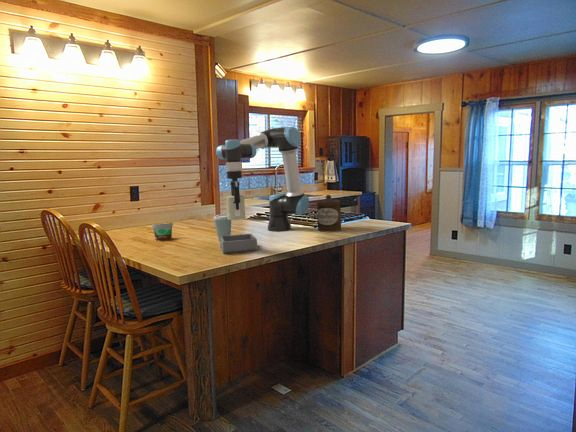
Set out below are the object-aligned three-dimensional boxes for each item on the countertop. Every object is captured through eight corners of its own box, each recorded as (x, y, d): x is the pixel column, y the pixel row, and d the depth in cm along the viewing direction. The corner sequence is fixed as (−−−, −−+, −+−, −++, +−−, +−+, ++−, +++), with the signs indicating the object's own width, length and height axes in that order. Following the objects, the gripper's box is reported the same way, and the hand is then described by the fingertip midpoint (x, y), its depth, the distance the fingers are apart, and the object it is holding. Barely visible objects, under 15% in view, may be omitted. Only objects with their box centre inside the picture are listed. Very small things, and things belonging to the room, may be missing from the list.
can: (228, 220, 206) (226, 196, 204) (227, 217, 215) (225, 195, 213) (246, 219, 208) (245, 195, 206) (244, 216, 217) (243, 194, 215)
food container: (153, 241, 242) (152, 225, 240) (152, 240, 247) (151, 223, 246) (175, 239, 246) (174, 223, 245) (174, 237, 252) (172, 221, 250)
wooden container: (315, 231, 255) (314, 196, 252) (320, 227, 269) (319, 193, 266) (339, 231, 251) (338, 196, 248) (343, 227, 265) (342, 193, 262)
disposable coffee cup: (229, 242, 231) (228, 216, 229) (211, 242, 233) (210, 216, 231) (235, 238, 241) (234, 213, 239) (218, 238, 244) (216, 213, 242)
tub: (252, 244, 224) (251, 233, 223) (257, 250, 207) (256, 239, 207) (220, 247, 220) (219, 236, 219) (223, 254, 203) (222, 242, 203)
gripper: (224, 170, 217) (226, 212, 220) (228, 171, 197) (231, 218, 200) (238, 169, 219) (240, 211, 222) (244, 170, 198) (246, 217, 202)
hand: (236, 214), depth 211 cm, fingers closed on can, 9 cm apart
